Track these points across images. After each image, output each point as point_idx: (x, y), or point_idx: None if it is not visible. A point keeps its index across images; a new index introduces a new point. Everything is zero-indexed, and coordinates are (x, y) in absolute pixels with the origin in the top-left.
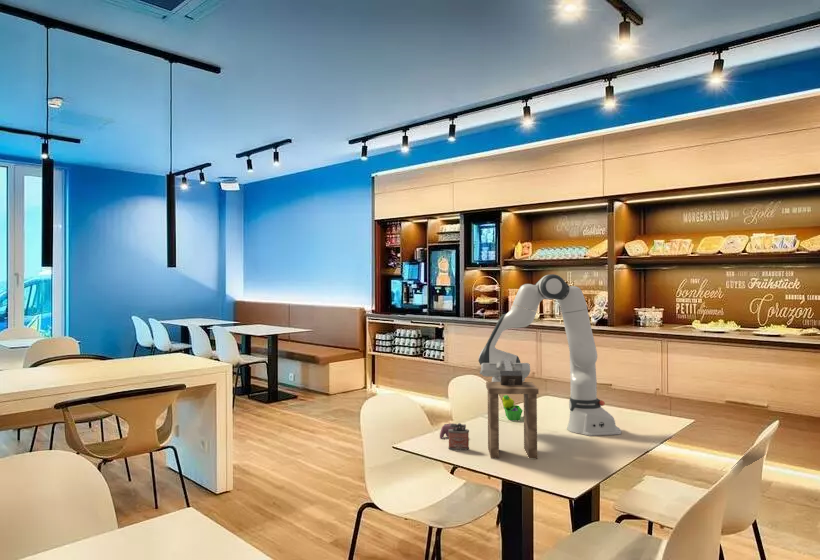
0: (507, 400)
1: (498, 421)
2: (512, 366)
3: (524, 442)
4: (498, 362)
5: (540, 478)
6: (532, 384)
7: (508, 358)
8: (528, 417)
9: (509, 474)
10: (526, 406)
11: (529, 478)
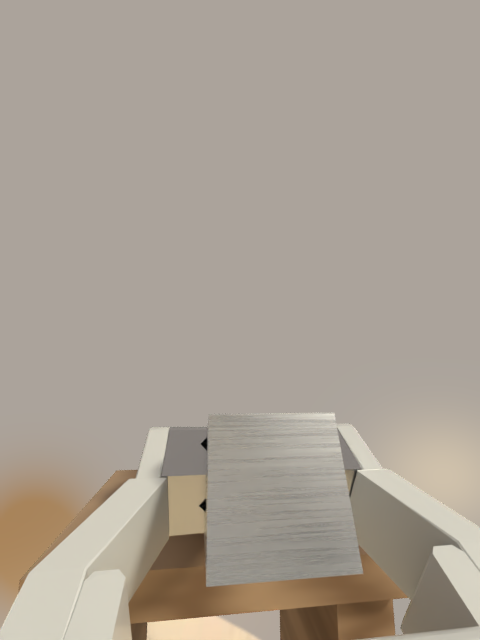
0: None
1: (281, 625)
2: (148, 559)
3: None
4: (420, 491)
5: (165, 622)
6: (88, 516)
7: (222, 414)
8: (146, 622)
9: (237, 637)
10: (136, 624)
11: (191, 619)
